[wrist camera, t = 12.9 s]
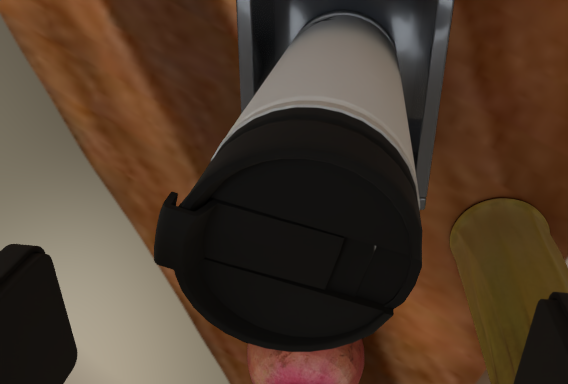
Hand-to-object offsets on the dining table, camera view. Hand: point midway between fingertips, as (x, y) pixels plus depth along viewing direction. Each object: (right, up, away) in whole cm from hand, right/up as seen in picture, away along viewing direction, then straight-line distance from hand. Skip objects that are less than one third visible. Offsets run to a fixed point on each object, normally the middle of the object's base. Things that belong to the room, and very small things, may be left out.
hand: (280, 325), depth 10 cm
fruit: (+2, -7, +29) cm, 30 cm away
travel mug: (+3, +10, +20) cm, 22 cm away
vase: (+14, 0, +24) cm, 28 cm away
